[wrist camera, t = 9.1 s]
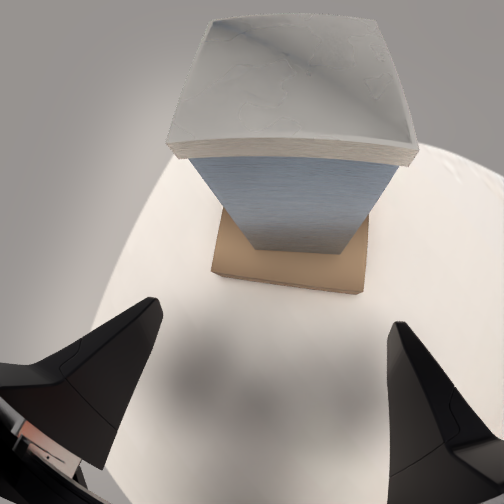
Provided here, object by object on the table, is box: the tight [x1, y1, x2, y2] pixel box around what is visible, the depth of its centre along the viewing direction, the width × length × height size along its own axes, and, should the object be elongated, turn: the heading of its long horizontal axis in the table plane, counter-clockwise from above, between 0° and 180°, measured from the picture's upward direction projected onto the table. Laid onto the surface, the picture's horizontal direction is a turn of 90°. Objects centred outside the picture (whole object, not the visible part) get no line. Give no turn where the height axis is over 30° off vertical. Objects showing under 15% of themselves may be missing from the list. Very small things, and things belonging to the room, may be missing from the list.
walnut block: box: [211, 207, 369, 294], centre depth 20 cm, size 10×10×3 cm
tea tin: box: [166, 13, 419, 255], centre depth 12 cm, size 6×6×12 cm
